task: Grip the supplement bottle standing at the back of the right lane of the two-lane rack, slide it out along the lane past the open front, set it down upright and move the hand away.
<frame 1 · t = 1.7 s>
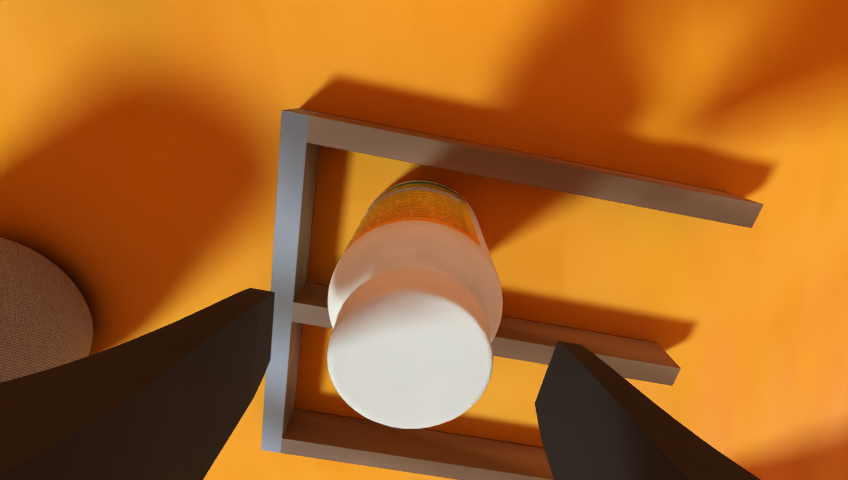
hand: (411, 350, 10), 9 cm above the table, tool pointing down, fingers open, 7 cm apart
lane rack: (483, 321, 20), on the table
supplement bottle: (420, 232, 19), on the table
smart speaker: (27, 301, 20), on the table
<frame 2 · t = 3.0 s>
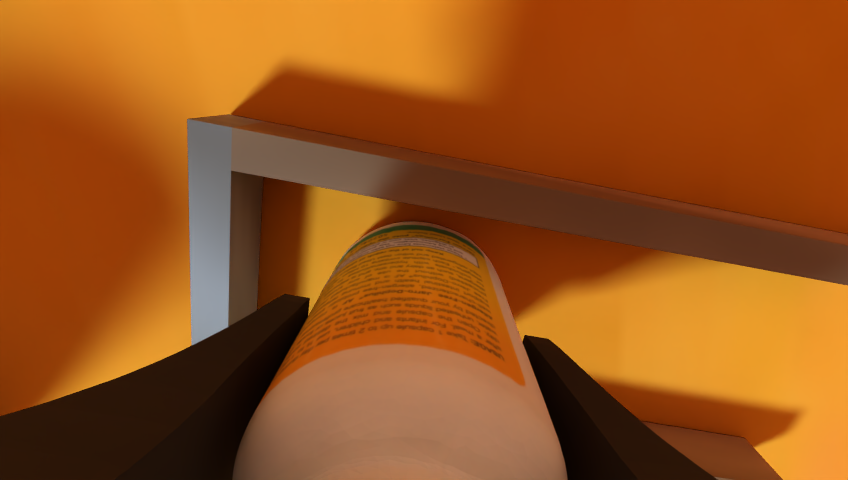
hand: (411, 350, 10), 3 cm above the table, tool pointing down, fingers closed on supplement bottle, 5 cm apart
lane rack: (504, 410, 14), on the table
supplement bottle: (415, 292, 13), on the table, touching gripper
when the fingers open (4 cm above the table, at t = 4.3 s): supplement bottle stays where it is, on the table.
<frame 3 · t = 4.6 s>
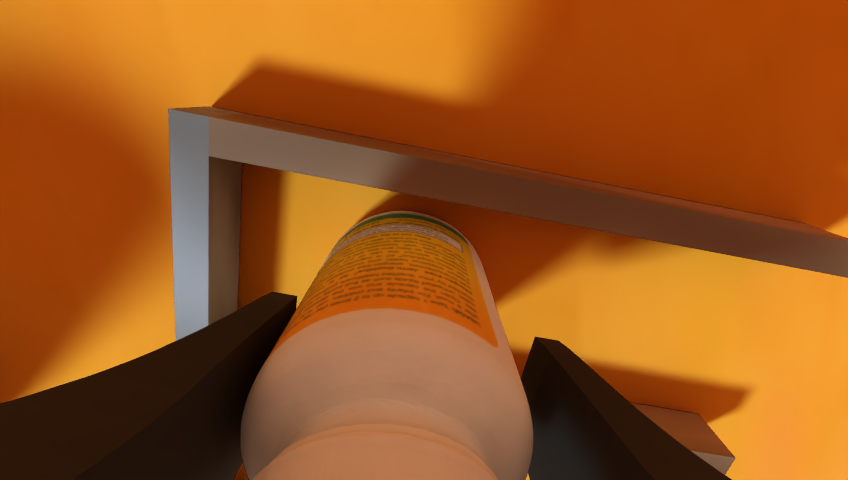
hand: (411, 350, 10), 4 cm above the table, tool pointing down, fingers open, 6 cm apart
lane rack: (471, 386, 15), on the table
supplement bottle: (404, 277, 14), on the table, touching gripper
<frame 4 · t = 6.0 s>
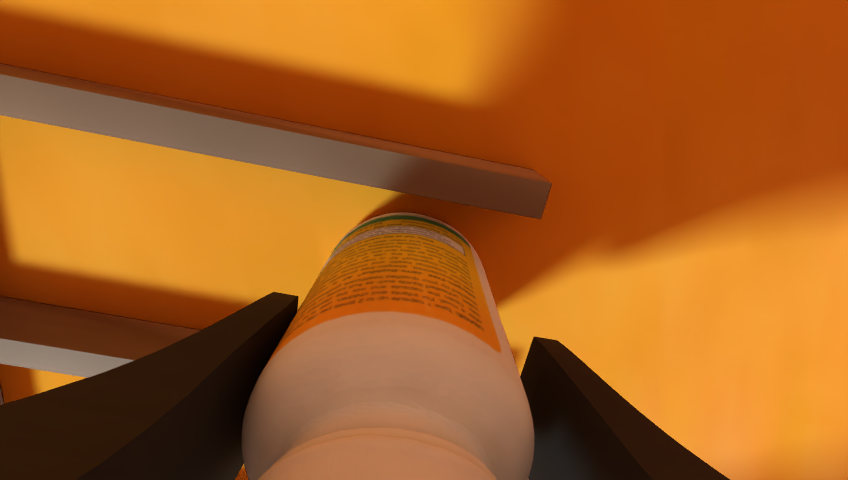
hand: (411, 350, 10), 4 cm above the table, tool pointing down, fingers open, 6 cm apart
lane rack: (234, 347, 15), on the table
supplement bottle: (405, 279, 14), on the table, touching gripper
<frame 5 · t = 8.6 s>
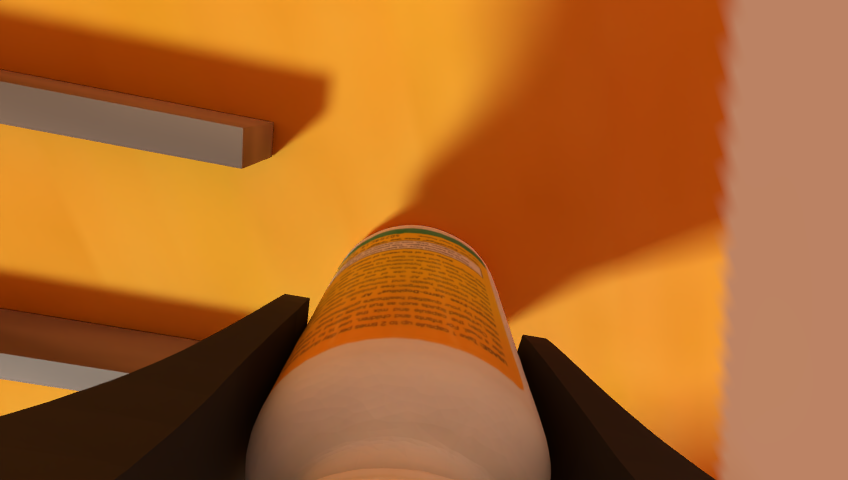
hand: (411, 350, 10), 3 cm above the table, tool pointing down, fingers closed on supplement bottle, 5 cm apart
lane rack: (2, 320, 14), on the table
supplement bottle: (414, 292, 14), on the table, touching gripper
when the fingers open (3 cm above the table, at t = 8.8 s): supplement bottle stays where it is, on the table.
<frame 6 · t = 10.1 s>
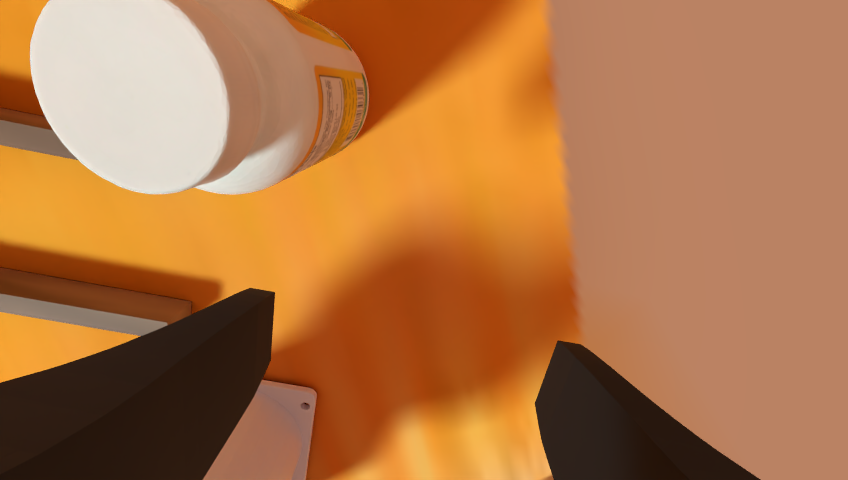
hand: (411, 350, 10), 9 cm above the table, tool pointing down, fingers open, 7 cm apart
supplement bottle: (309, 92, 17), on the table
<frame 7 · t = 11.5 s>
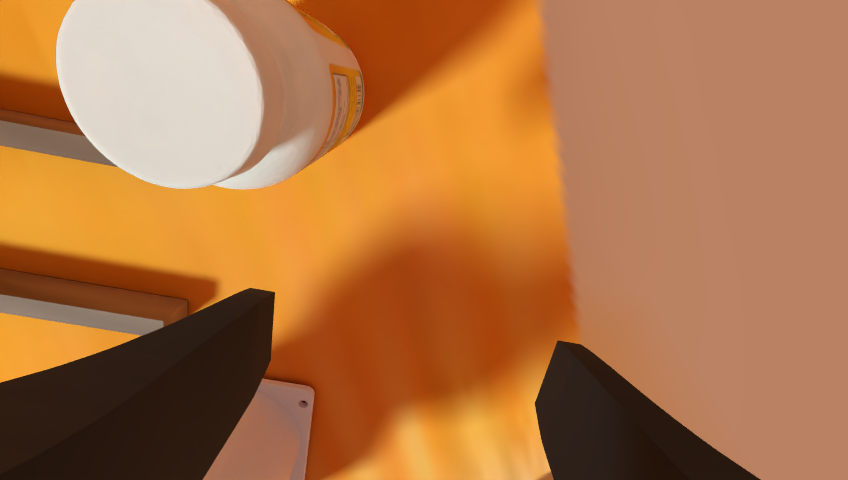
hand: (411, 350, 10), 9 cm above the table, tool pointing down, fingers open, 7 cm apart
supplement bottle: (303, 88, 17), on the table
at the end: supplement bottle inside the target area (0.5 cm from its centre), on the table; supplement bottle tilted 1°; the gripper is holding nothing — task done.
